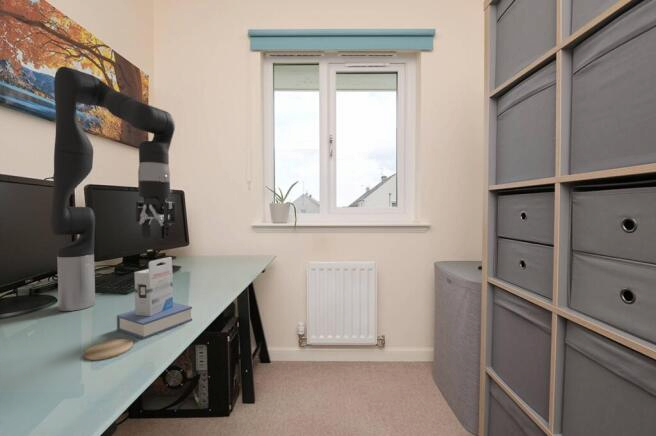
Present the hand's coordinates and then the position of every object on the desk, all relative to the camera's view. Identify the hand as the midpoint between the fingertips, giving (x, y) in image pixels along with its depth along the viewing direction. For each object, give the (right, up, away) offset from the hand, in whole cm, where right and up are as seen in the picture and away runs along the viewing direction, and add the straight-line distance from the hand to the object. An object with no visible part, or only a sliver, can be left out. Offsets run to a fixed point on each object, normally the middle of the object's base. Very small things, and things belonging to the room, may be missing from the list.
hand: (155, 238), depth 81 cm
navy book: (0, -24, +1) cm, 24 cm away
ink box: (0, -21, +1) cm, 21 cm away
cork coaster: (-2, -25, -14) cm, 29 cm away
